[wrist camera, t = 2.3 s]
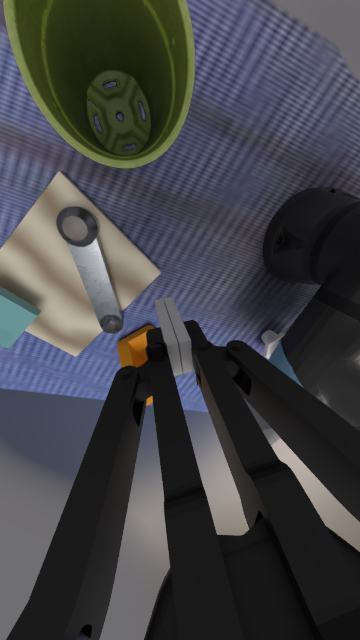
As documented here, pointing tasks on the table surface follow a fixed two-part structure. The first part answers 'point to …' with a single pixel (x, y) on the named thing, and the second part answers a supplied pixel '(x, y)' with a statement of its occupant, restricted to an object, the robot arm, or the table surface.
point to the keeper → (14, 317)
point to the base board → (67, 267)
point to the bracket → (134, 350)
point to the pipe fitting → (271, 341)
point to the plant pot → (107, 71)
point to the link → (94, 270)
